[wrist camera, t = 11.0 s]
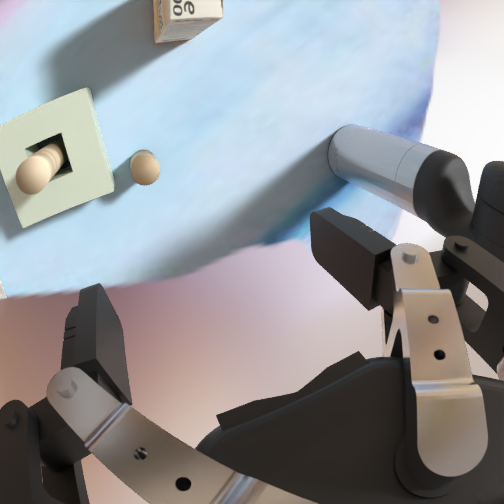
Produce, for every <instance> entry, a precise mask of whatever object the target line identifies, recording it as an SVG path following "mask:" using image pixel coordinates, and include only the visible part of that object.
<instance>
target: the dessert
mask: <svg viewBox="0 0 504 504" xmlns="http://www.w3.org/2000/svg"><path fill="white" fill-rule="evenodd" d="M4 298H7V296H6V293H5V291H4V288H3V286H2V283H1V281H0V299H4Z"/></svg>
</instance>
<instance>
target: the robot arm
mask: <svg viewBox="0 0 504 504" xmlns="http://www.w3.org/2000/svg"><path fill="white" fill-rule="evenodd" d="M328 160H329V164H330V167H331V169H332V171H333V172H334V173H335V174H336V175H337V176H338V177H340V178H342V179H344V180H346V181H348V182H350V183H352V184H354V185H356V186H358V187H361V188H363V189H365V190H367V191H369V192H371V193H373V194H375V195H377V196H379V197H381V198H383V199H385V200H387V201H389V202H391V203H392V204H394V205H396V206H398V207H400V208H402V209H404V210H406V211H408V212H410V213H412V214H413V215H415V216H417V217H419V218H421V219H422V220H424V221H426V222H427V223H428V224H429V225H430V226H431V227H432V228H433V229H434V230H435V231H437V232H438V233H439V234H441V235H443V236H444V237H446V239H445V240H444V244H443V249H442V250H441V251H435V252H430V253H428V251H426V250H425V249H424V248H422V247H421V246H418V245H415V244H410V243H406V244H405V243H404V244H399V245H396V244H394V243H393V242H391V241H390V240H388V239H387V238H385V237H384V236H382V235H381V234H379V233H378V232H376V231H373V229H371V228H370V227H368V226H366V225H365V224H364V223H362V222H361V221H359V220H357V219H355V218H352V217H348V216H345V215H344V216H343V215H342V214H340V213H339V212H337V211H336V210H334V209H332V208H331V207H328V208H324V209H321V210H318V211H315V212H312V213H311V215H310V231H311V249H312V253H313V256H314V258H315V260H316V261H317V262H318V263H319V264H320V265H321V266H322V267H323V268H324V269H325V270H326V271H327V272H328V273H329V274H331V276H333V277H334V278H335V279H336V280H337V281H338V282H339V283H340V284H341V285H342V286H343V287H344V288H345V289H346V290H347V291H348V292H350V293H351V294H352V295H353V296H354V297H355V298H356V299H357V300H358V301H359V302H360V303H361V304H362V305H363V306H364V307H365V308H366V309H367V310H368V311H369V310H371V309H373V308H375V307H377V306H379V305H381V306H382V307H383V308H382V338H383V357H376V358H370V359H365V358H364V357H363V356H362V354H361V353H360V352H359V351H358V352H356V353H354V354H352V355H350V356H348V357H347V358H345V359H343V360H341V361H339V362H337V363H335V364H333V365H331V366H329V367H327V368H326V369H325V370H324V371H323V372H321V373H320V374H319V375H318V376H317V377H315V378H314V379H313V380H312V381H311V382H309V383H308V384H307V385H305V386H304V387H303V388H302V389H300V390H299V391H298V392H295V393H291V394H287V395H282V396H277V397H272V398H266V399H261V400H256V401H252V402H250V403H247V404H245V405H242V406H239V407H237V408H234V409H232V410H229V411H227V412H224V413H221V414H218V415H216V416H217V419H218V421H219V424H220V426H219V427H217V428H216V429H214V430H213V431H212V432H210V433H209V434H208V435H207V436H206V437H205V438H204V439H203V440H202V441H201V442H200V443H199V444H198V446H197V447H196V448H195V449H194V448H192V447H191V446H188V445H187V444H186V443H184V442H182V441H181V440H179V439H178V438H176V437H174V436H173V435H171V434H170V433H168V432H167V431H165V430H163V429H162V428H161V427H159V426H158V425H156V424H155V423H153V422H152V421H150V420H149V419H147V418H146V417H145V416H143V415H142V414H141V413H139V412H138V411H136V410H135V409H134V408H132V407H131V406H130V405H132V399H131V392H130V387H129V379H128V372H127V364H126V356H125V347H124V337H123V329H122V325H121V323H120V320H119V317H118V315H117V314H116V312H115V310H114V308H113V306H112V304H111V302H110V300H109V298H108V296H107V294H106V293H105V290H104V288H103V287H102V285H101V284H100V283H98V284H95V285H92V286H89V287H87V288H84V289H81V290H80V295H79V303H78V306H75V307H73V308H72V309H71V311H70V313H69V314H68V316H67V318H66V323H65V332H64V341H63V349H62V361H61V371H59V372H58V373H57V374H55V375H54V377H53V378H52V379H51V380H50V382H49V385H48V387H47V397H45V398H44V399H42V400H41V401H39V402H37V403H36V404H34V405H33V406H31V407H29V408H28V407H27V406H26V405H25V404H24V403H23V402H21V401H19V400H12V401H9V402H8V403H6V404H5V405H4V406H3V407H2V408H1V409H0V504H90V503H89V499H88V495H87V490H86V485H85V480H84V475H83V470H82V464H81V459H82V458H84V457H86V456H88V455H89V454H91V453H92V454H93V455H94V456H95V457H96V458H97V459H98V460H99V461H100V462H102V463H103V464H104V465H105V466H106V467H107V468H108V469H109V470H110V471H111V472H112V473H114V475H116V476H117V477H118V478H119V479H120V480H121V481H122V482H124V483H125V484H126V485H127V486H128V487H129V488H131V489H132V490H133V491H134V492H135V493H137V494H138V495H139V496H140V497H142V498H143V499H144V500H146V501H147V502H148V503H150V504H504V162H503V161H492V162H489V163H488V164H486V165H485V167H484V169H483V172H482V175H481V180H480V184H479V189H478V194H477V199H476V203H475V202H474V199H473V196H472V191H471V186H470V179H469V173H468V170H467V167H466V165H465V163H464V162H463V160H462V159H461V158H460V157H458V156H457V155H455V154H452V153H450V152H447V151H444V150H441V149H438V148H434V147H432V146H429V145H425V144H422V143H419V142H416V141H412V140H409V139H406V138H403V137H399V136H396V135H392V134H389V133H385V132H381V131H377V130H374V129H370V128H366V127H362V126H358V125H347V126H344V127H342V128H341V129H340V130H338V131H337V133H336V134H335V135H334V137H333V138H332V140H331V143H330V145H329V150H328ZM469 281H470V282H471V283H472V284H473V285H475V286H476V287H477V288H478V289H480V290H481V291H482V292H483V293H484V294H485V295H486V296H487V298H488V302H489V303H488V308H487V311H484V310H483V309H482V308H481V307H480V306H479V305H478V304H476V303H475V302H474V301H473V300H472V299H471V298H469V297H468V296H467V295H466V290H467V288H468V284H469ZM465 341H466V342H467V343H468V344H469V345H470V346H471V347H472V348H473V349H474V350H475V351H476V352H477V353H478V354H479V355H480V356H481V357H482V358H483V359H484V360H485V362H486V363H487V364H488V365H489V366H490V367H491V368H492V369H493V370H494V371H495V372H496V373H497V375H498V377H499V380H497V379H492V378H487V377H482V376H477V375H472V372H471V367H470V363H469V358H468V353H467V349H466V345H465ZM41 469H42V473H41ZM42 479H43V482H42Z"/></svg>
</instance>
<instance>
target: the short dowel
mask: <svg viewBox="0 0 504 504" xmlns="http://www.w3.org/2000/svg"><path fill="white" fill-rule="evenodd" d="M130 167H131V174H132V177H133V179H134V181H135V182H136V183H138V184H140V185H150V184H152V183H154V182H155V181H156V180H157V179H158V177H159V174H160V166H159V164H158V162H157V160H156V158H155V157H154V155H153V154H152V153H151V152H150V151H148V150H139V151H137V152H136V153H134V154H133V156H132V157H131V160H130Z"/></svg>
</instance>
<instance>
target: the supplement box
mask: <svg viewBox="0 0 504 504" xmlns="http://www.w3.org/2000/svg"><path fill="white" fill-rule="evenodd" d="M153 12H154V43H155V44H157V43H164V42H171V41H180V40H191V39H192V38H194V37H195V36H197V35H198V34H200V33H201V32H202V31H204V30H205V29H207V28H208V27H210V26H211V25H213V24H214V23H215V22H217V21H218V20H220V19H222V18H223V0H153Z"/></svg>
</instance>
